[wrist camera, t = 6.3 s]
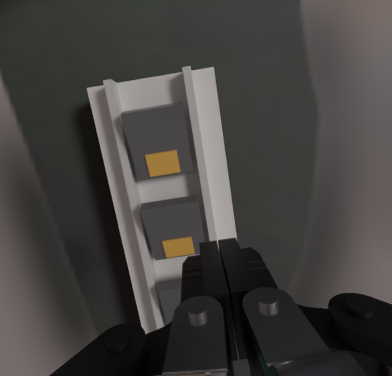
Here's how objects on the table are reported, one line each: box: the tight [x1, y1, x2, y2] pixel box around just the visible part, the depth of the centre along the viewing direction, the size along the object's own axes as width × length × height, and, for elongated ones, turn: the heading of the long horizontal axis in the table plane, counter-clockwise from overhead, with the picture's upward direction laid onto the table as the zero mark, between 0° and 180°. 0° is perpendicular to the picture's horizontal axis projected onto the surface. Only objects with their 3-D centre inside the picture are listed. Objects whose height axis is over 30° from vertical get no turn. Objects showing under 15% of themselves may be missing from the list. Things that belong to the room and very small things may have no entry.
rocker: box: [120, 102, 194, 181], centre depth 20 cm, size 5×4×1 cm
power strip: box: [87, 66, 237, 334], centre depth 24 cm, size 24×10×5 cm, turn 9°
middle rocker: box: [140, 195, 205, 261], centre depth 21 cm, size 5×4×1 cm
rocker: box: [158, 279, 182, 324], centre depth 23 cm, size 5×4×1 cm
